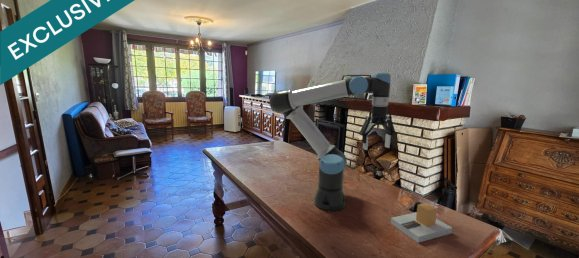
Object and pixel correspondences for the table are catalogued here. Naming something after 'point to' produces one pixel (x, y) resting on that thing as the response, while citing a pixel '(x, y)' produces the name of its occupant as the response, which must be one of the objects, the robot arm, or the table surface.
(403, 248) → the table surface
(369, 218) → the table surface
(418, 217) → the cardboard-colored cube
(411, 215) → the junction plate
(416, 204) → the black power adapter
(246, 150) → the table surface
